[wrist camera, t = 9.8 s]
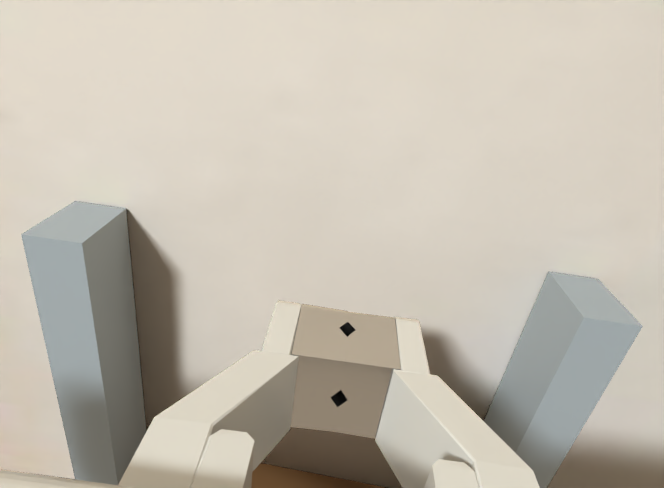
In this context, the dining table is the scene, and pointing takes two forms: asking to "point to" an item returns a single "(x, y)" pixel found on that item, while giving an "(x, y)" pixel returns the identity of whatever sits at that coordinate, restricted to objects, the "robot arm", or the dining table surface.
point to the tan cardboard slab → (298, 479)
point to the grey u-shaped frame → (125, 371)
